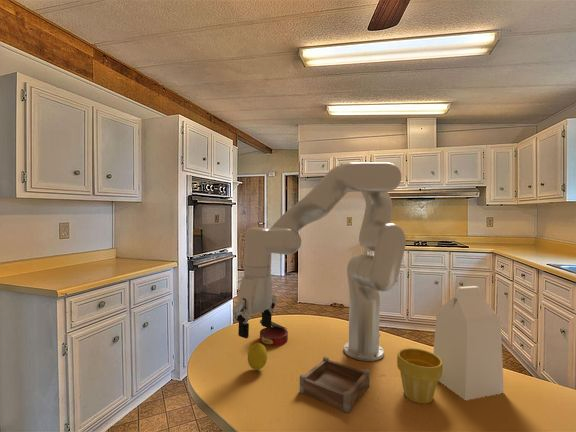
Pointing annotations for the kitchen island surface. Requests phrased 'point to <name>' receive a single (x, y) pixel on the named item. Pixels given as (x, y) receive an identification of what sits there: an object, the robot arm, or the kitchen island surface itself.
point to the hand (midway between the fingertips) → (255, 331)
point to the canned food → (274, 335)
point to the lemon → (257, 356)
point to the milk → (469, 345)
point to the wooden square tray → (335, 384)
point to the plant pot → (419, 373)
